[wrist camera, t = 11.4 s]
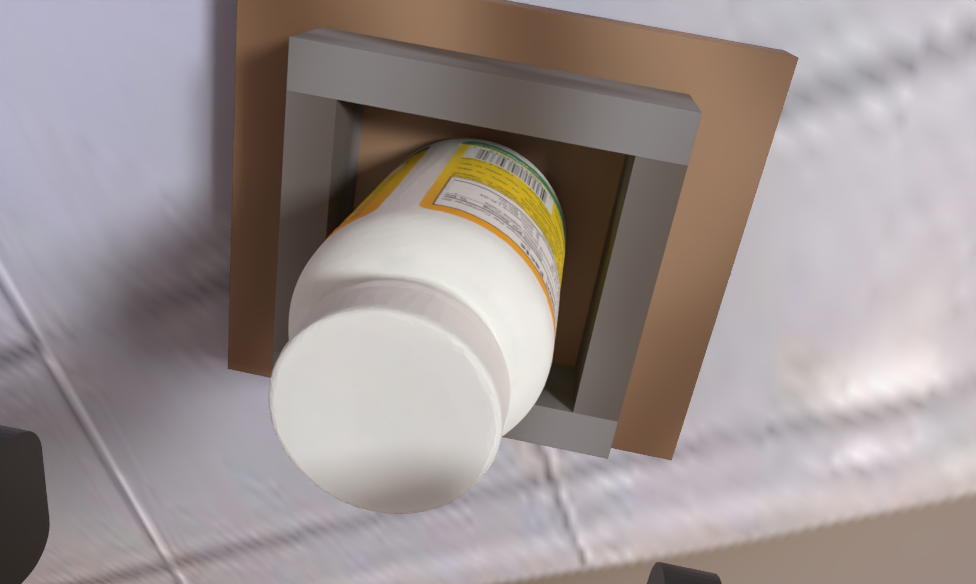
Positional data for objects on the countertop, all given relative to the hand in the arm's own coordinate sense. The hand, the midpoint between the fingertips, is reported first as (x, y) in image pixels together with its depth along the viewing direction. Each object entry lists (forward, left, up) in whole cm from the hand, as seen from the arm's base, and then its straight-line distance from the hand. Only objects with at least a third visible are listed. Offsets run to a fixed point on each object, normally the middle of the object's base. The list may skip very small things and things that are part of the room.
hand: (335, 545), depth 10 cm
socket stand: (0, 0, -14) cm, 14 cm away
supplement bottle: (0, 0, -13) cm, 13 cm away
